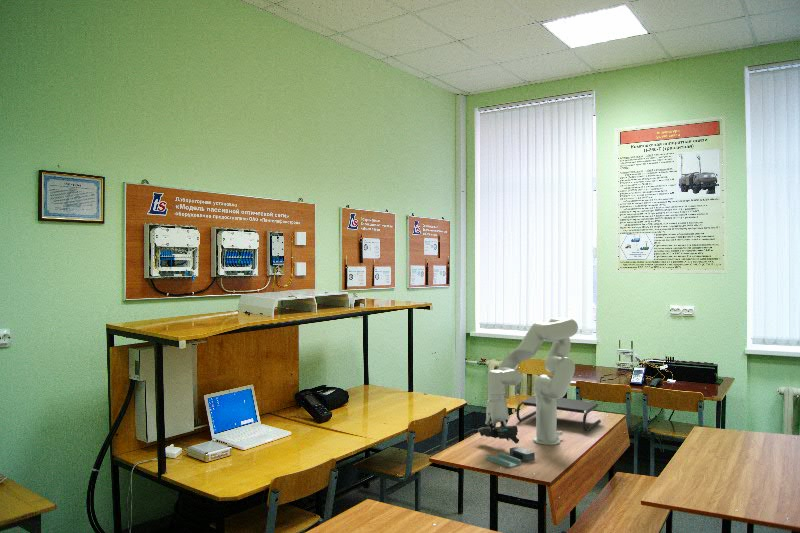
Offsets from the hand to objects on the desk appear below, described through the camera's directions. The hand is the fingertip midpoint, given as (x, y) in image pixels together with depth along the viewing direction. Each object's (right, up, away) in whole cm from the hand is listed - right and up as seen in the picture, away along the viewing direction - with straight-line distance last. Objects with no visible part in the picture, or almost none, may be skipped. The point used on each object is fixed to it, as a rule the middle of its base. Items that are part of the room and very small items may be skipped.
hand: (498, 435), depth 265 cm
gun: (0, -2, 0) cm, 2 cm away
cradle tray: (-1, -5, -21) cm, 22 cm away
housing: (+7, -5, -16) cm, 19 cm away
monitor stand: (+40, -6, +43) cm, 59 cm away
